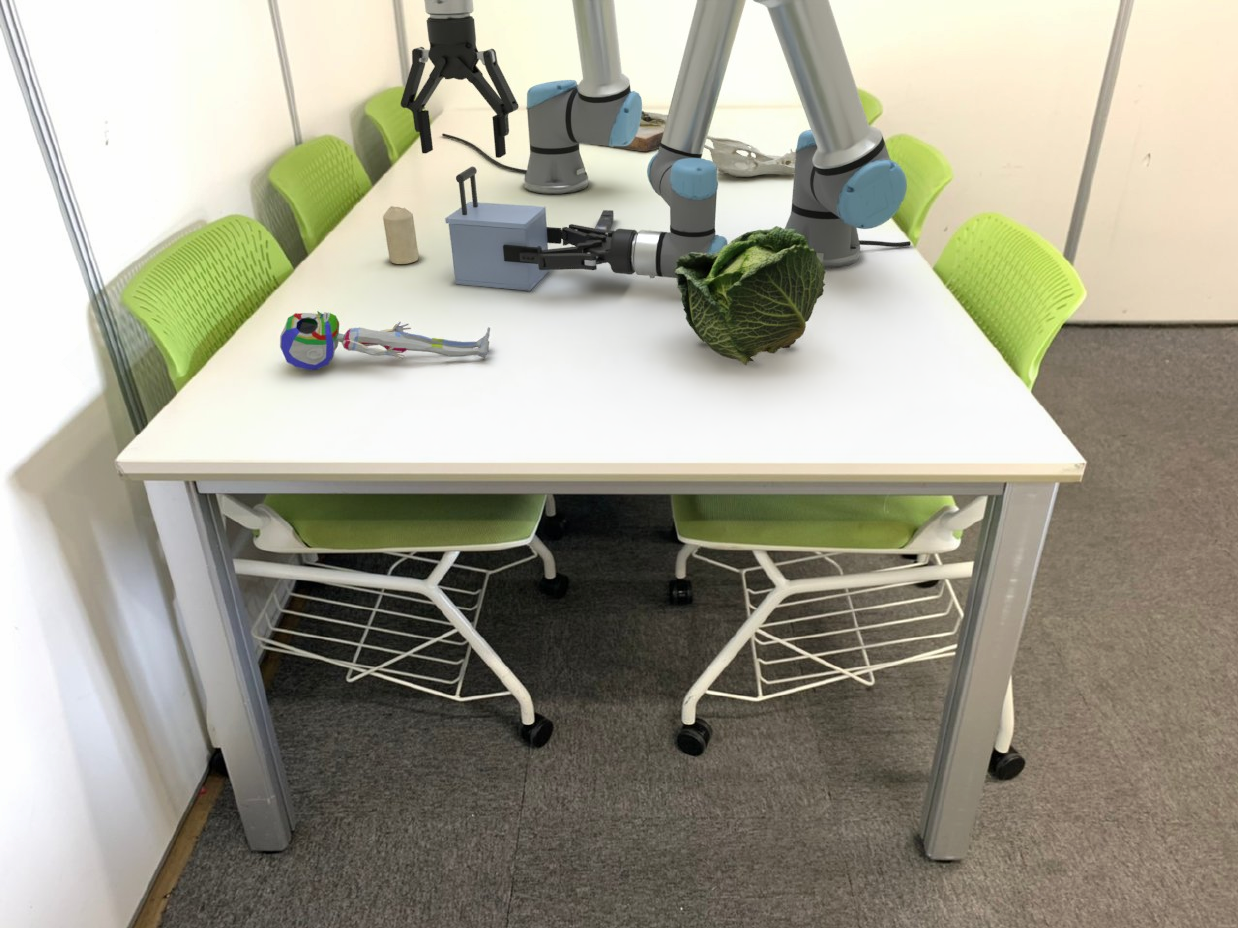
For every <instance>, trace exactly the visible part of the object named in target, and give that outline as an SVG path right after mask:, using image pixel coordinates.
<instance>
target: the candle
mask: <svg viewBox="0 0 1238 928" xmlns="http://www.w3.org/2000/svg"><path fill="white" fill-rule="evenodd" d="M382 220H383V226H384V233H385V239H386V246H387V252H388V258H389V261H390V263H392V264H394V265H395V264H397V265H406V264H412V263H414V262H417V261H418V260H419V258H420V257H419V250H418V241H417V234H416V227H415V226H416V225H415V219H414V214H413V212H411V211H410V210H409V209H407V208H406V207H401V206H393V205H392V206H389V207H388V209H386V211H385V212H384V214H383V215H382Z"/></svg>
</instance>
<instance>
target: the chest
mask: <svg viewBox="0 0 1238 928" xmlns="http://www.w3.org/2000/svg"><path fill="white" fill-rule="evenodd" d="M547 227H548V226H547V211H546V212H545V213H544V214H542V215H541V216H540V217H539V218H538V219H537V220H535V221H534V222H533V223H532V224H531V225H530V226H528V227H527V228H526V229H517V228H503V227H489V226H476V225H462V224H448V230H449V240H450V247H451V255H452V265H453V273H454V281H455V285H463V286H474V287H485V288H496V289H506V290H518V291H528V292H529V291H530V292H531V290H532V289H533V288H534V287H536V285H537V284H538V283H539V282H540V281H541V280H542V279H543V278H544V277H546V275H547V274H548V273H549V272H550V270H539V269H538V264H531V263H519V262H507V261H504V253H503V246H504V245H514V246H527V247H538V246H541V248H542V250H546V249H549V243H548V241H547ZM545 261H546V260H545Z"/></svg>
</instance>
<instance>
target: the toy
mask: <svg viewBox="0 0 1238 928" xmlns="http://www.w3.org/2000/svg"><path fill="white" fill-rule="evenodd" d="M401 323H402V321H399V322H398V323H396V324H395V325H394V326H393V327H392V328H389V329H383V330H376V329H375V330H374V329H369V328H364V327H351V328H348V329H347V330H346V331H345V333H344V334H343V333H340V322H339V319H338V317H337V315H335V314H333V313H331V312H326V311H324V313H322V312H320V311H317V313H314V312H313V313H312V312H301V313H297V312H295V313H294V314H292V315H291V316H288V317H287V320H286V323H285V325H284V327H283V329H282V331H281V333H280V336H279V337H280V338H279V348H280V350H281V353H282V355H283V356H284V359H285V361H286V363H288V364H289V365H291V366H293V367H296V368H300V369H303V370H310V371H311V370H312V371H316V370H319V369H321V368H324V367H326V366H328V365H329V364H330V362H331V361H332V359H333V358H334V357H335V353H336V350H337V348H338V346H339V343H341V345H342V347H343V349H345V350H347V351H348V352H349V351H353V352H357V353H361V354H366V355H368V356H372V357H382V356H383V357H384V356H390V357H396V358H400V359H402V360H403V359H404V358H405V355H404V354H403V353H405V352H406V351H409V352H422V353H423V352H426V353H433V354H437V355H441V356H444V357H447V358H454V357H456V358H458V357H459V358H460V357H461V358H462V357H468V356H474V355H476V356H478V357H481V358H483V359H486V357H487V354H488V353H489V350H490V341H489V338H490V332H491V328H490V326H488V327H487V330H486V333H485V335H483V337H481V338H480V339H478V340H477V341H461V340H460V341H459V340H451V339H444V338H437V337H436V338H435V337H432V338H431V337H427V336H424V335H421V334H414V333H409V332H406V331H407V330H412V327H406V326H409V325H410V324H409V323H406V324H403V325H402V324H401ZM405 330H406V331H405ZM372 346H381V347H383V348H382V349H381V348H378V347H372ZM403 357H404V358H403Z"/></svg>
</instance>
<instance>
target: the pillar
mask: <svg viewBox="0 0 1238 928" xmlns="http://www.w3.org/2000/svg"><path fill="white" fill-rule="evenodd" d="M614 216H615V215H614V210H613V209H612V210H611V209H602V212H601V214H600V216H599V219H598V221H597V222H596V225H595V227H594V228H595V229H600V230H606V231H611V228H612V226H613V223H614Z"/></svg>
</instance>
